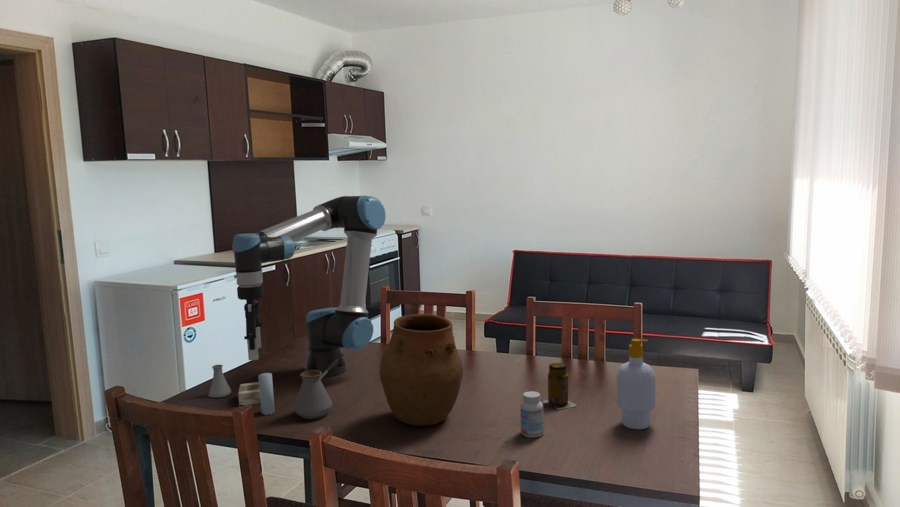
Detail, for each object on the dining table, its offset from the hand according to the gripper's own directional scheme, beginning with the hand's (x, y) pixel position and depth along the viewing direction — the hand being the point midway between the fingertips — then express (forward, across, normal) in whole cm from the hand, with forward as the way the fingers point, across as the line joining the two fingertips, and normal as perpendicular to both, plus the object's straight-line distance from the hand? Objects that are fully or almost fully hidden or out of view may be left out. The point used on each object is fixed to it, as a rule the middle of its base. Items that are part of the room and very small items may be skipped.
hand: (255, 353), depth 197 cm
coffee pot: (+19, +4, +20) cm, 27 cm away
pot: (+19, +22, +47) cm, 56 cm away
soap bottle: (+18, +45, +103) cm, 114 cm away
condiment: (+18, +23, +89) cm, 94 cm away
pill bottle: (+18, +42, +74) cm, 87 cm away
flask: (+19, -21, -14) cm, 31 cm away
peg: (+18, +2, +3) cm, 19 cm away
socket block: (+18, -12, -2) cm, 22 cm away
